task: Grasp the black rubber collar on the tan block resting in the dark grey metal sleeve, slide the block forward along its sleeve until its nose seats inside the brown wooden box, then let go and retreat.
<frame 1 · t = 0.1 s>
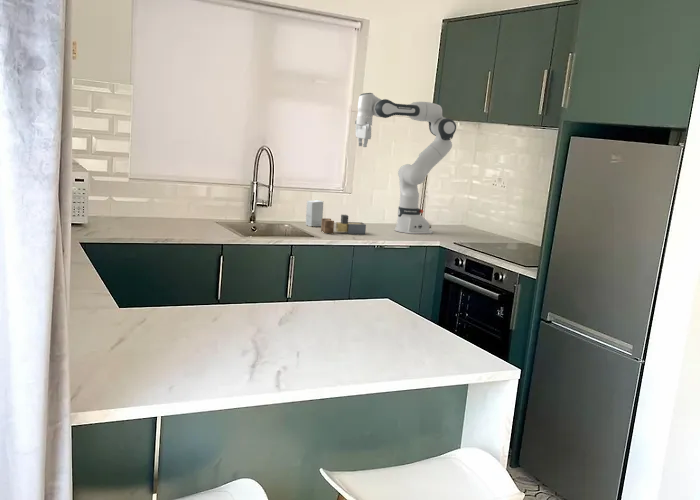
hand: (362, 146, 402), 48 cm above the counter, fingers open, 8 cm apart
brown wooden box: (327, 232, 394), on the counter
skincare box: (313, 226, 414), on the counter
tan block: (349, 223, 397), point 5 cm above the counter, slide at 0.0 cm
sleeve: (354, 233, 399), on the counter
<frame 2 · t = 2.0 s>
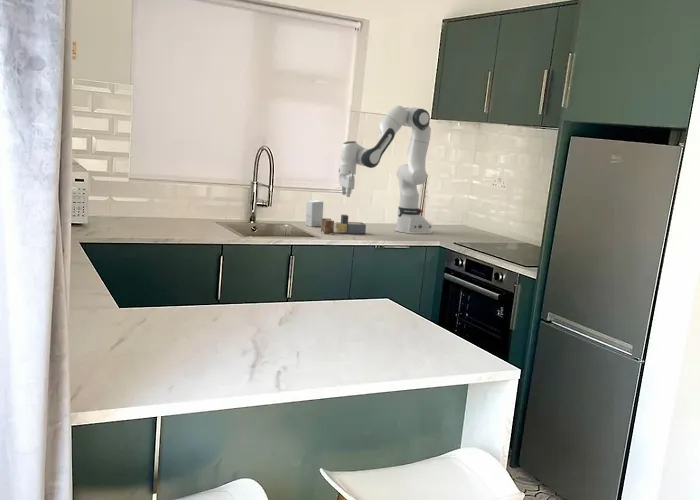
hand: (345, 195, 393), 21 cm above the counter, fingers open, 8 cm apart
nothing on the counter moved.
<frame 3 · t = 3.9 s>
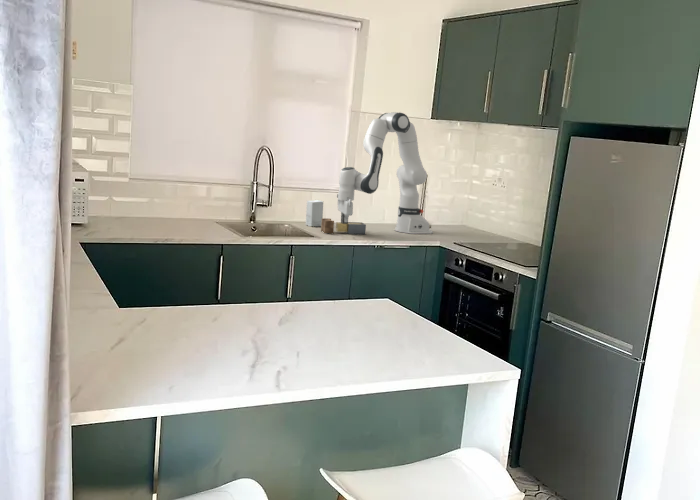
hand: (344, 221, 396), 7 cm above the counter, fingers closed on tan block, 4 cm apart
tan block: (349, 223, 397), point 5 cm above the counter, slide at 0.0 cm, touching gripper
everything else where it was.
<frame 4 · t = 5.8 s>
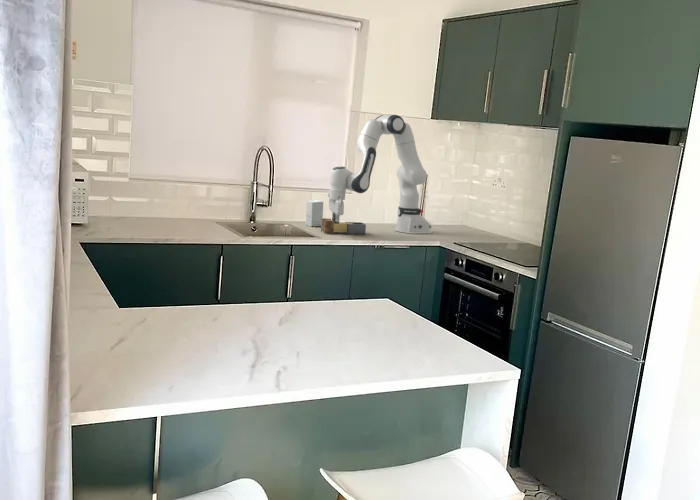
hand: (335, 220, 394), 7 cm above the counter, fingers closed on tan block, 4 cm apart
tan block: (340, 223, 395), point 5 cm above the counter, slide at 5.1 cm, touching gripper
everything else where it was.
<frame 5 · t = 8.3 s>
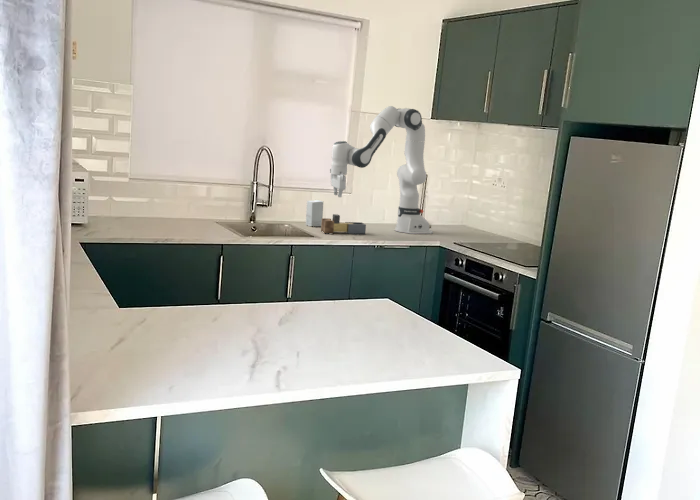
hand: (337, 196, 392), 21 cm above the counter, fingers open, 8 cm apart
tan block: (341, 223, 395), point 5 cm above the counter, slide at 4.9 cm
everything else where it was.
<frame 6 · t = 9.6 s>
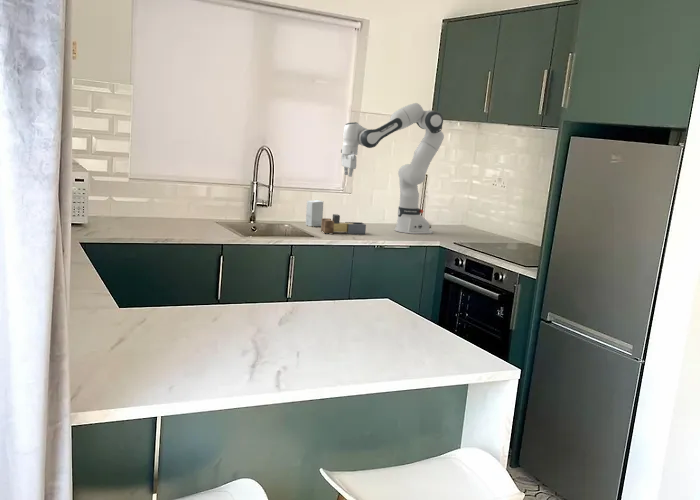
hand: (348, 175, 403), 31 cm above the counter, fingers open, 8 cm apart
nothing on the counter moved.
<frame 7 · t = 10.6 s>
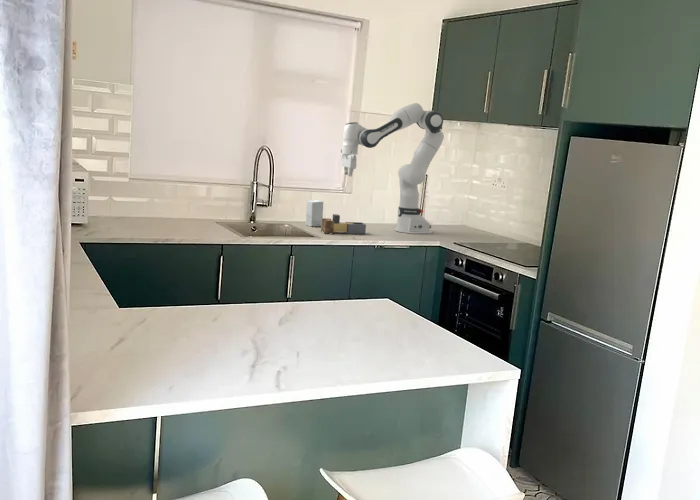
hand: (348, 175, 403), 31 cm above the counter, fingers open, 8 cm apart
nothing on the counter moved.
at the end: tan block slide at 4.9 cm; the gripper is holding nothing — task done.
